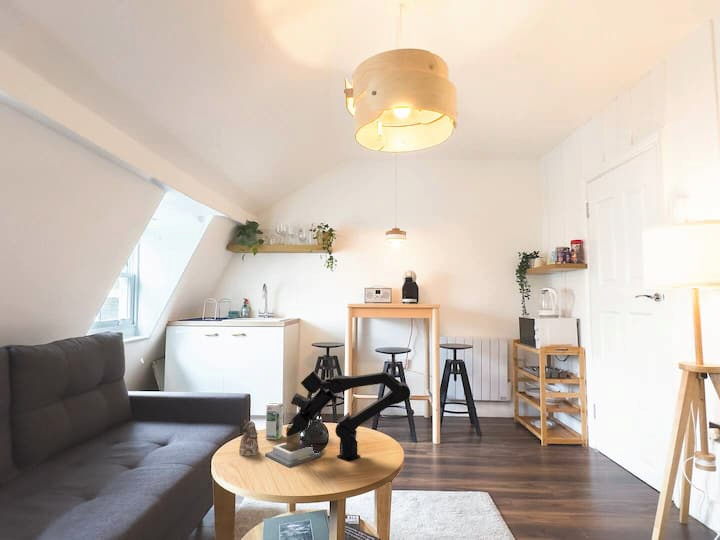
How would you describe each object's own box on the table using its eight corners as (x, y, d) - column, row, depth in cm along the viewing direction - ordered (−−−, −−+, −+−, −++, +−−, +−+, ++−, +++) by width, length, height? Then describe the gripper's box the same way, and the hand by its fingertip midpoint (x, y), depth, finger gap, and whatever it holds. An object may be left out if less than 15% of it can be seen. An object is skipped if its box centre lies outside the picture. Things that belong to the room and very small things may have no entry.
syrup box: (265, 439, 173) (266, 404, 174) (270, 434, 178) (271, 401, 180) (278, 440, 172) (278, 405, 173) (282, 435, 178) (283, 401, 179)
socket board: (320, 455, 154) (321, 446, 155) (288, 467, 144) (288, 457, 144) (296, 446, 165) (297, 437, 165) (265, 456, 154) (265, 446, 154)
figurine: (247, 457, 152) (248, 424, 153) (235, 453, 156) (236, 421, 157) (262, 451, 158) (262, 420, 159) (249, 448, 162) (250, 417, 163)
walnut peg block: (300, 451, 156) (300, 424, 157) (297, 455, 152) (298, 428, 153) (288, 450, 157) (289, 424, 157) (285, 455, 152) (286, 427, 153)
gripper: (308, 382, 165) (281, 409, 165) (299, 392, 147) (268, 423, 146) (327, 402, 164) (300, 429, 164) (320, 415, 146) (289, 446, 145)
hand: (289, 431), depth 155 cm, fingers open, 9 cm apart
